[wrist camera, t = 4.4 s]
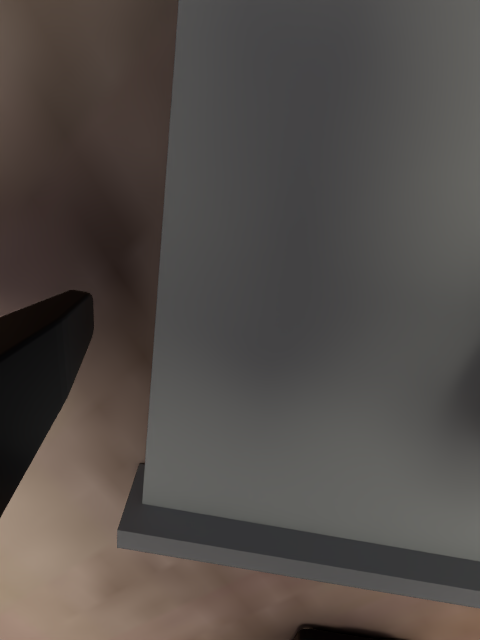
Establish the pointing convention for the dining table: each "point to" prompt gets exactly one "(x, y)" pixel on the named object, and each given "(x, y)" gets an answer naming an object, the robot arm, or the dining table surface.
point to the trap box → (320, 298)
